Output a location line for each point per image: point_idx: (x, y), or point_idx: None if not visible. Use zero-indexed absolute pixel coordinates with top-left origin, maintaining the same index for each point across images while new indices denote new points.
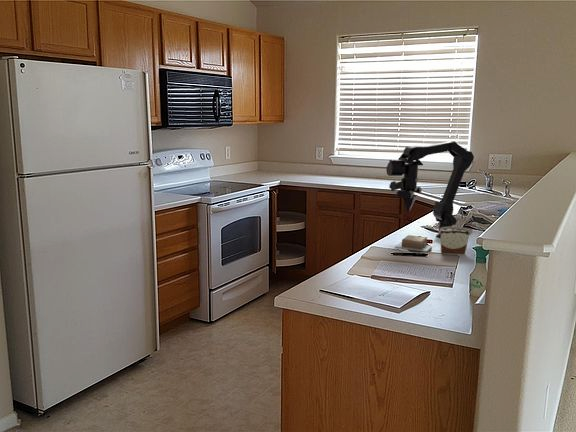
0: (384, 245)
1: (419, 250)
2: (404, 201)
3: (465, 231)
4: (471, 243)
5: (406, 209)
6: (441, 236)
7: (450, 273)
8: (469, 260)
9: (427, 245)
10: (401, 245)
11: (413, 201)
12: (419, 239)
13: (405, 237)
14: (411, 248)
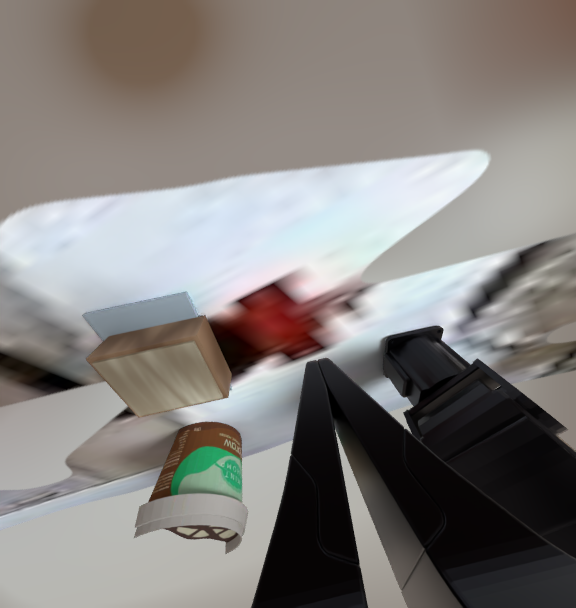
0: (54, 261)
1: None
2: (274, 533)
3: (228, 537)
4: None
5: (304, 381)
6: (153, 497)
7: (46, 495)
8: None
9: None
10: (128, 325)
11: (388, 556)
12: (163, 401)
13: (131, 355)
14: None
